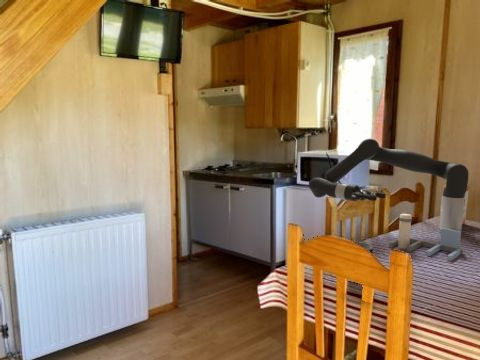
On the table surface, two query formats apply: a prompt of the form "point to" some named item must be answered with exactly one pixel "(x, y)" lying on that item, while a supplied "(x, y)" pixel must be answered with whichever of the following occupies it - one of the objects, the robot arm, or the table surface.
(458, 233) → the cable comb
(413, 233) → the table surface
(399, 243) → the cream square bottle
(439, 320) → the table surface
